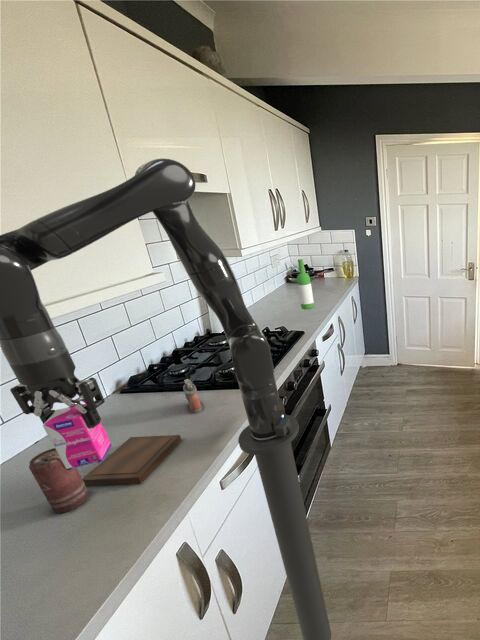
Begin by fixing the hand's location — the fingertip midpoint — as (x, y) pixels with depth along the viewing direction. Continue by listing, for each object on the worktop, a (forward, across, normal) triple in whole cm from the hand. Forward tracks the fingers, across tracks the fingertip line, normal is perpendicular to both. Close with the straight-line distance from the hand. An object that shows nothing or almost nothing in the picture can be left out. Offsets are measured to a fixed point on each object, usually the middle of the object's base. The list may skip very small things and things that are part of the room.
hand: (75, 426), depth 70 cm
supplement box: (+8, 0, 0) cm, 8 cm away
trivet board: (+23, +7, -16) cm, 29 cm away
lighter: (+24, +6, -41) cm, 48 cm away
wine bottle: (+25, -3, -146) cm, 148 cm away
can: (+23, +12, -3) cm, 27 cm away
